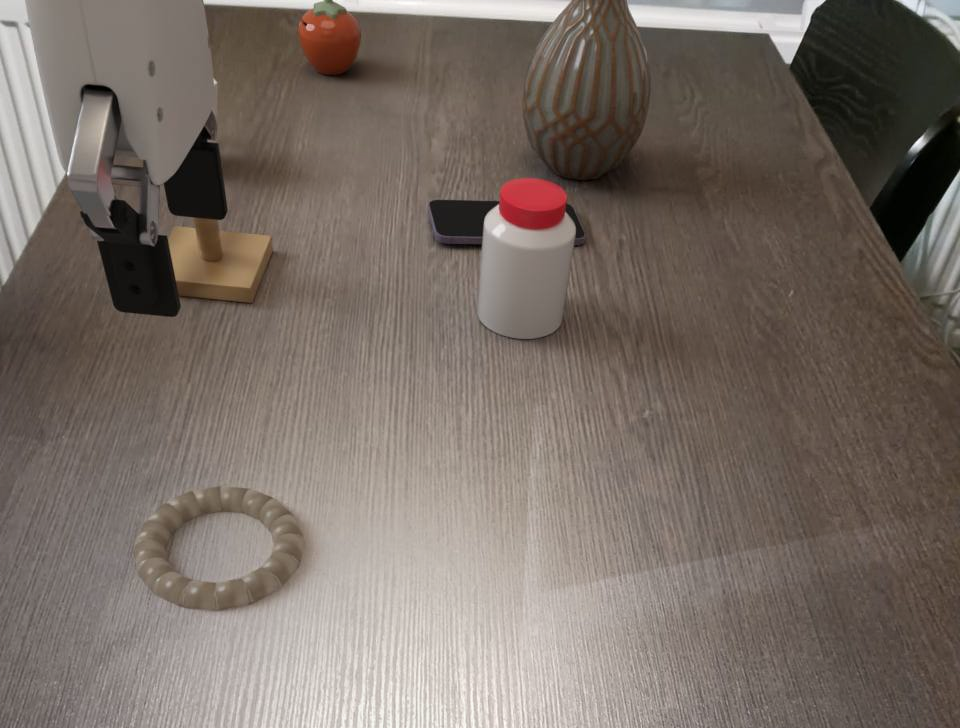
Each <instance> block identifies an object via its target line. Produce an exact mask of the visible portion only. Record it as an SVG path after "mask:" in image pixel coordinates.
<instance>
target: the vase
mask: <svg viewBox="0 0 960 728" xmlns="http://www.w3.org/2000/svg"><path fill="white" fill-rule="evenodd" d="M646 48H647V47H646V46H645V43H644V40H643V37H642V35H641V33H640V30H639V27H638V25H637V23H636V21H635V19H634V16H633V15H632V13H631V11H630V8H629V4H628V0H570V2H569V3H568V4H567V5H566V6H565V8H564V9H563V10H562V11H561V12H560V13H559V14H558V15H557V17H556V18H555V19H554V20H553V22H552V23H551V24H550V25H549V27H548V28H547V29H546V30H545V32H544V34H543V35H542V37H540V40H539V42H538V43H537V45H536V47H535V49H534V51H533V53H532V56H531V58H530V61H529V64H528V67H527V70H526V74H525V78H524V85H523V93H522V118H523V124H524V129H525V132H526V136H527V139H528V142H529V143H530V146H531V148H532V150H533V152H534V153H535V154H536V156H537V157H538V158H539V159H540V161H542V163H543V164H544V166H545V167H546V168H547V169H548V170H549V171H551V172H552V173H553V174H555V175H556V176H559V177H561V178H564V179H569V180H575V181H589V180H588V179H591V180H594V179H593V178H595V179H598V178H600V176H601V177H603V176H604V175H605V174H607V173H609V172H610V171H611V170H613V169H615V168H616V167H617V166H619V165H620V164H621V163H622V162H623V161H625V159H626V158H627V157H628V156H629V154H630V153H631V152H632V150H633V149H634V147H635V146H636V144H637V143H638V141H639V138H640V137H641V135H642V133H643V130H644V127H645V125H646V120H647V116H648V113H649V108H650V101H651V92H652V77H651V67H650V60H649V57H648V52H647V49H646ZM597 177H598V178H597Z"/></svg>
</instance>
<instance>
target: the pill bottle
mask: <svg viewBox="0 0 960 728" xmlns="http://www.w3.org/2000/svg"><path fill="white" fill-rule="evenodd" d="M498 201H499V204H498V205H497V206H495V207H494V208H492V209H491V210H490V211H489V212H488V213H487V215H486V217H485V219H484V226H483V239H482V244H481V254H480V265H479V267H480V268H479V280H478V291H477V292H478V293H477V303H476V315H477V317H478V320H479V321H480V322H481V323H482V325H484V327H486V328H487V329H489V330H490V331H492V332H493V333H496V334H497V335H500V336H504V337H507V338H512V339H517V340H518V339H519V340H533V339H539V338H543V337H547V336H549V335H551V334H553V333H554V332H556V331H558V329H559V328H560V327H561V326H562V323H563V319H564V313H565V307H566V301H567V293H568V288H569V279H570V274H571V270H572V269H571V267H572V262H573V255H574V248H575V246H574V243H575V236H576V226H575V223H574V221H573V220H572V219H571V217H570V216H569V215H568V214H567V213H566V211H565V210H566V204H568V203H567V202H568V194H567V192H566V191H565V189H563V188H562V187H561V186H560V185H558V184H557V183H554V182H553V181H550V180H546V179H542V178H535V177H521V178H516V179H515V178H514V179H512V180H508V181H507V182H505V183H504V184H503V185H502V186H501V187H500V190H499V200H498Z"/></svg>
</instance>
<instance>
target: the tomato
mask: <svg viewBox="0 0 960 728" xmlns="http://www.w3.org/2000/svg"><path fill="white" fill-rule="evenodd" d="M297 35H298V40H299V44H300V47H301V49H302V52H303V53H304V54H303V55H304V56H305V58H306V60H307V61H308V63H309V65H311V66H312V68H314V70H315V71H316V72H318V73H319V74H322V75H326V76H337V75H341V74H344V73H346V72H347V71H348V70H349V69H350V68H351V67H352V65H353V64H354V62H355V61H356V59H357V56H358V53H359V50H360V46H361V41H362V32H361V26H360V25H359V22H358V20H357V18H356V17H355V16H354V15H353V14H352V13H350V11H348V10H347V8H346V7H345V6H343V5H342V4H339V3H337V2H336V1H334V0H322V1H317V2H314V3H313V8H311V9H308V10H307V11H306V12H305V13H304V14H303V15H302V16H301V18H300V21H299V23H298V26H297Z"/></svg>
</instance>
